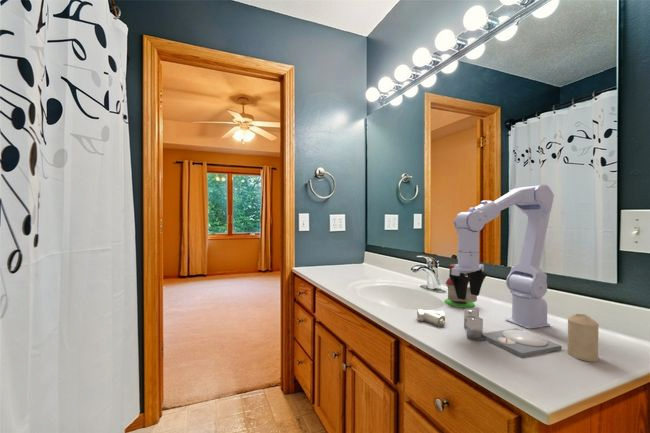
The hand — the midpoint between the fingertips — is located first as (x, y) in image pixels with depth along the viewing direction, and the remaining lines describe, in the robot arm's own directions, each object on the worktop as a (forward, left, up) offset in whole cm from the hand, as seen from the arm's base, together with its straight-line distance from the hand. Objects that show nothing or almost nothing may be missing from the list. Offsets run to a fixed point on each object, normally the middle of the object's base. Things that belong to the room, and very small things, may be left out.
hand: (468, 296), depth 85 cm
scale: (-6, +11, -10) cm, 16 cm away
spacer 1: (-2, -1, -10) cm, 10 cm away
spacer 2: (+3, +5, -10) cm, 12 cm away
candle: (-14, +21, -10) cm, 27 cm away
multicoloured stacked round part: (-17, -22, -10) cm, 29 cm away
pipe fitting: (+7, -8, -10) cm, 15 cm away
